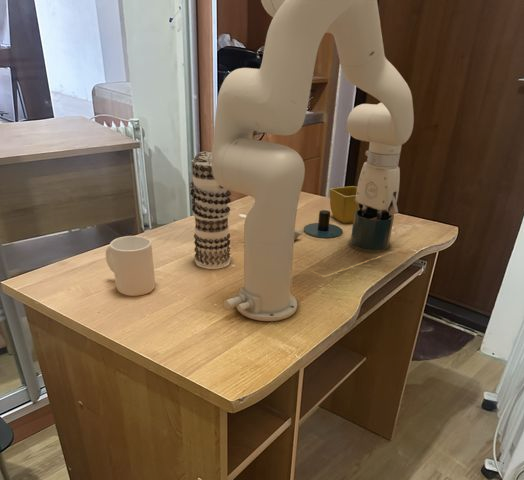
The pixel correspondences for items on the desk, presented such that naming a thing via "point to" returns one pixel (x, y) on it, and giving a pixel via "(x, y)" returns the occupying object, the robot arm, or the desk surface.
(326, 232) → the pot lid
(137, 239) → the mug
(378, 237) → the pot
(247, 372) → the desk surface
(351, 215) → the flower pot
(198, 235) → the decorative candle
